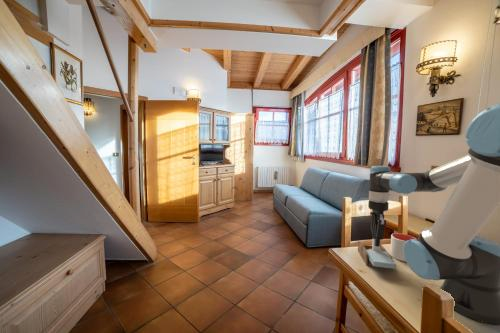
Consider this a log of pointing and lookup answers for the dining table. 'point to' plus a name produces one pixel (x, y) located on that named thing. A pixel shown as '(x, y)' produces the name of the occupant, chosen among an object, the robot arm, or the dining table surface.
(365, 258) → the walnut box
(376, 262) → the cover slab
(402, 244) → the cup
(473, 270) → the robot arm
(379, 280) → the dining table surface
